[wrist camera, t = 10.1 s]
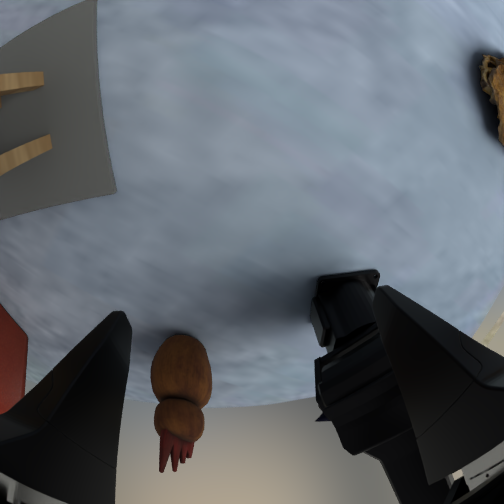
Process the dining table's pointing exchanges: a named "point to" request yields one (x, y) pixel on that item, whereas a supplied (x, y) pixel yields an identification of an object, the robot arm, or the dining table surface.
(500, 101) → the decorative rock
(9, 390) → the plant pot
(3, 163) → the oak stool
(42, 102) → the charcoal mat
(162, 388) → the wooden figurine
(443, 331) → the robot arm
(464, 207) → the dining table surface
